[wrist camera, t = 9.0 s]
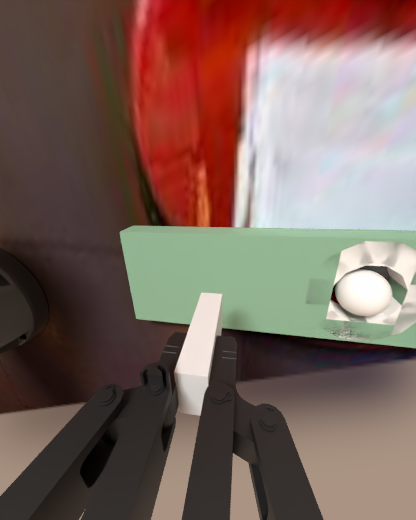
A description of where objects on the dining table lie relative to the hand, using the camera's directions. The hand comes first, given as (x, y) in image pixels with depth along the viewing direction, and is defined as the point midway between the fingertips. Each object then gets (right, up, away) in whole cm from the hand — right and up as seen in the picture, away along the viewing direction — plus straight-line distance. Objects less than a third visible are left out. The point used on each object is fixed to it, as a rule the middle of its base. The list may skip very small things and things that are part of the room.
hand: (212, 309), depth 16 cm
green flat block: (+6, +2, +6) cm, 9 cm away
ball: (+13, +1, +3) cm, 13 cm away
